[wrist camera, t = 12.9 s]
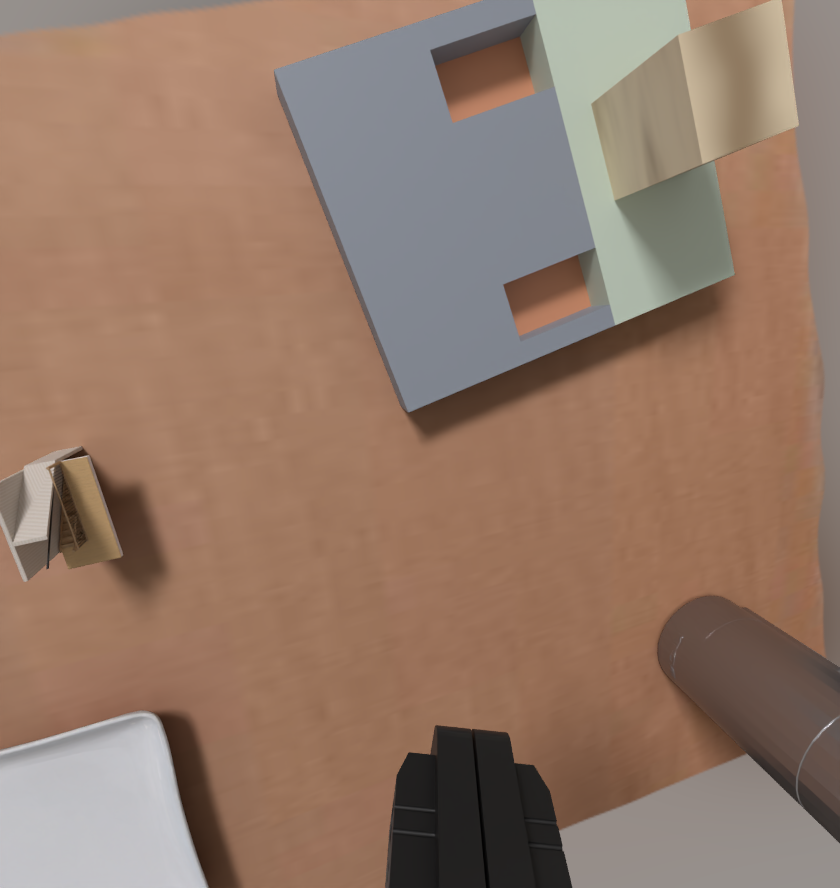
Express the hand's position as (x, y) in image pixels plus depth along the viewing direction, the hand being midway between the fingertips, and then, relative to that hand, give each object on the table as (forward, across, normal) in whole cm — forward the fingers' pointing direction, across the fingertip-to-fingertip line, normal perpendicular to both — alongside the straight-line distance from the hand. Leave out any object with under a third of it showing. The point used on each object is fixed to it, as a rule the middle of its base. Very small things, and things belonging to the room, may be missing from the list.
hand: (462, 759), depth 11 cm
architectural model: (+23, +24, +6) cm, 34 cm away
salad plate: (+20, +26, +34) cm, 47 cm away
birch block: (+30, -11, -20) cm, 38 cm away
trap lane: (+31, -4, -16) cm, 35 cm away
